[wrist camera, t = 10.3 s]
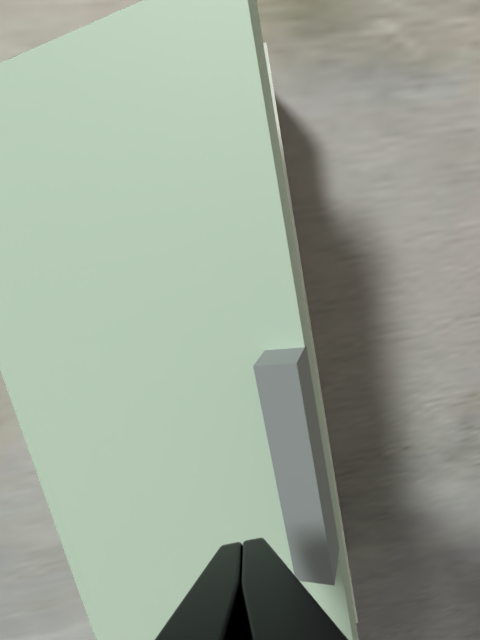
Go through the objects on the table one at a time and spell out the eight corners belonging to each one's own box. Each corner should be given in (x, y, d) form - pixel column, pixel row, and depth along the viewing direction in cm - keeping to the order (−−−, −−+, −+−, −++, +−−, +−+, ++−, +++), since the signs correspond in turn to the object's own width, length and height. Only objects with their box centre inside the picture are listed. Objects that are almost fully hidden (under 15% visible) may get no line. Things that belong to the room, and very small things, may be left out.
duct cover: (125, 669, 18) (98, 719, 16) (-66, 109, 12) (-135, 97, 11) (373, 730, 14) (371, 801, 12) (252, -24, 9) (222, -72, 7)
